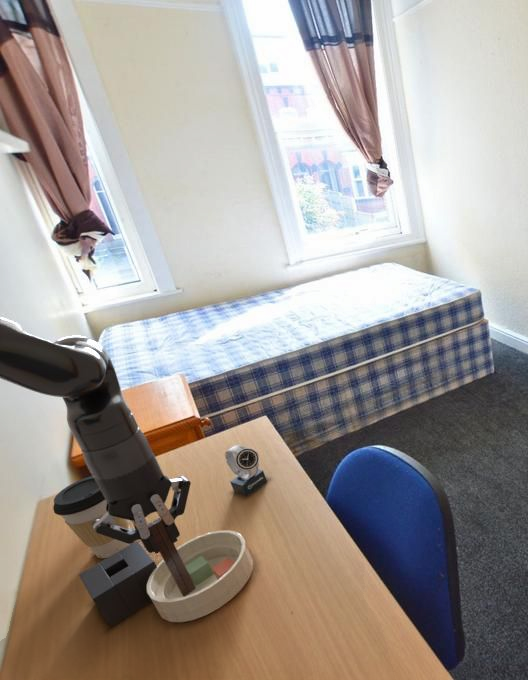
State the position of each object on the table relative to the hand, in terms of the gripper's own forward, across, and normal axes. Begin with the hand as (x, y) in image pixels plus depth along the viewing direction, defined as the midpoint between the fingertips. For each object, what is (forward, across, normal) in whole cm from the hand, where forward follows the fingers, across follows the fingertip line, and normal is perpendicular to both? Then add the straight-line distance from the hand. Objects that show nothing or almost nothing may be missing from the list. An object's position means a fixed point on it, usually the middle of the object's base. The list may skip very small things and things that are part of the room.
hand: (165, 544), depth 79 cm
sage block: (+12, +3, +2) cm, 13 cm away
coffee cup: (+13, -4, +28) cm, 31 cm away
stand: (+13, -6, +10) cm, 17 cm away
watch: (+13, +21, +21) cm, 32 cm away
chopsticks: (+11, 0, 0) cm, 11 cm away
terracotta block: (+12, +6, -3) cm, 13 cm away
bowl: (+13, +3, 0) cm, 13 cm away
